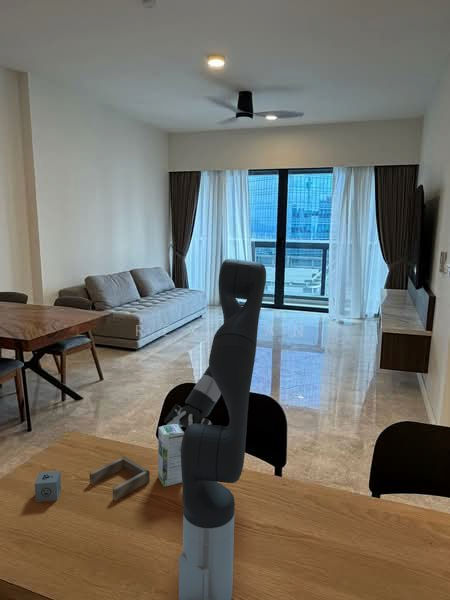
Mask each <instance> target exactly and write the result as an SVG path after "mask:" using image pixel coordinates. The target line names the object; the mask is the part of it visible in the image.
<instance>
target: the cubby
mask: <svg viewBox="0 0 450 600" xmlns="http://www.w3.org/2000/svg"><path fill="white" fill-rule="evenodd" d="M120 470H121V471H123V470H124V471H125V470H126V471H125V472H127V473H129V474H131V476H132V475H133V477H130V478H129V479H127V480H126V481H124V482H122V483H120V484H118V485H116V486H115V487H113V488H112V500H114V501H115V502H116V501H118V500H120V499H122V498H123V497H124V496H127V495H129V494H130V493H132V492H133V491H135V490H138V489H139V488H141V487H143V486H144V485H146V484H148V483H149V482H150V479H151V478H150V470H149V469H147V468H145V467H143V466H141V465H140V464H138V463H136V462H134V461H133V460H131V459H129V458H127V457H126V456H122V457H120V458H118V459H116V460H114V461H111V462H110V463H108V464H105V465H103V466H102V467H100V468H98V469H95V470H93V471H91V472H89V484H90V485H91V486H93V485H95V484H97V483H98V482H101V481H103V480H104V479H107V478H108V477H110V476H112V475H115V474H117V473H119V472H121V471H120ZM118 471H119V472H118ZM116 472H117V473H116ZM114 473H115V474H114Z"/></svg>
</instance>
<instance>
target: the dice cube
mask: <svg viewBox="0 0 450 600" xmlns="http://www.w3.org/2000/svg"><path fill="white" fill-rule="evenodd" d="M61 476H62V475H61V470H51V471H41V472H39V473H38V475H37V478H36V481H35V483H34V492H35V493H34V494H35V503H43V502H53V501H54V502H55V501H58V499H59V496H60V493H61V490H62V479H61Z"/></svg>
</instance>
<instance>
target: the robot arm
mask: <svg viewBox="0 0 450 600" xmlns="http://www.w3.org/2000/svg"><path fill="white" fill-rule="evenodd" d="M217 282H218V283H217V284H218V285H217V286H218V294H219V299H220V306H221V307H220V308H221V311H222V315H223V318H222V319H223V323H222V325H221V326H220V327H219V328H218V329H217V330H216V332H215V333H214V336H213V338H212V344H211V348H210V353H209V359H208V366H207V368H206V370H205V371H204V373H203V375H201V377H200V378H199V380H198V381H197V382H196V384H195V385H194V387H193V389H192V390H191V391H190V393H189V395H188V396H187V398H186V399H185V401H184V402H185V404H184V406H183V407H181V406H180V405H179V404H174V405H173V407H172V408H171V410H170V411H169V413H168V414H167V416H166V417H165V418H164V420H163V422H164V423H165V425H171V424H178V425H179V426H180V427H181V428H182V427H184V428H186V429H185V430H184V435H183V439H182V444H181V472H182V484H181V486H182V489H181V490H182V496H181V498H182V506H183V507H182V509H183V510H182V512H183V513H182V514H183V515H182V516H183V517H182V553H180V554H179V556H178V600H232V598H233V581H234V580H233V579H234V578H233V576H234V543H235V542H234V541H235V539H234V538H235V533H234V532H235V510H236V509H235V505H236V504H235V497H234V494H233V492H232V491H231V490H230V489H229V488H228V487H226V486H225V485H223V484H221V483H226V484H234V483H237V482H238V481H239V480H240V478H241V476H242V472H243V469H244V463H245V455H246V443H247V442H246V441H247V427H248V426H247V425H248V412H249V400H250V392H251V386H252V380H253V373H254V367H255V362H256V361H255V360H256V353H257V344H258V343H257V342H258V330H259V323H260V322H259V320H260V315H261V308H262V305H263V304H262V303H263V300H264V294H265V293H264V292H265V289H266V282H267V270H266V266H265V265H264V264H263V263H261V262H258V261H251V260H244V259H238V258H237V259H236V258H227V259H225V260H223V262H222V263H221V266H220V270H219V274H218V281H217ZM237 299H240V300H246V301H245V302H244V304H243V305H242V304H240V302H239V301H238V300H237ZM221 396H222V398H223V402H224V403H225V406H226V408H227V411H228V417H229V423H228V425H227V426H225V425H217V424H216V425H215V424H213V422H211V420H209V419H208V418H206V417H209V416H210V414H211V412H212V410H213V409H214V407H215V405H216V404H217V402H218V400H219V399H220V398H221Z"/></svg>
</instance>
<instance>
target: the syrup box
mask: <svg viewBox="0 0 450 600" xmlns="http://www.w3.org/2000/svg"><path fill="white" fill-rule="evenodd" d="M184 433H185V431H184V430H183V429H182V427H180V426H179V425H178V424H171V425H166V424H165V425H162V426H159V427H158V441H157V442H158V447H157V451H158V453H157V477H158V478H159V481H160V482H161V484H162V487H164V488H165V487H166V488H167V487H168V486H172V485H173V486H174V485H176V484H181V483H182V472H181V444H182V439H183V435H184Z"/></svg>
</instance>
